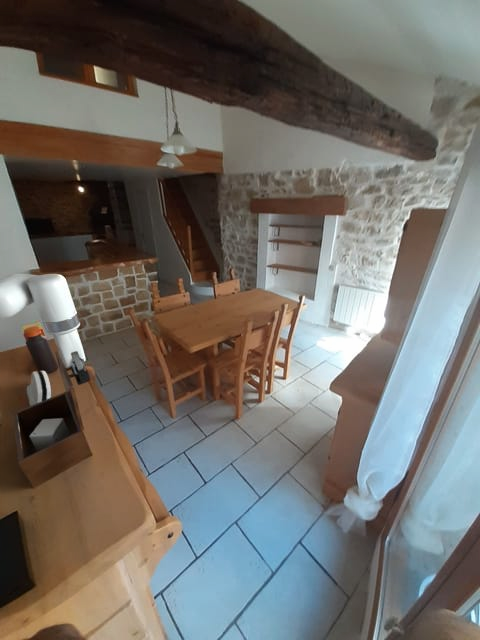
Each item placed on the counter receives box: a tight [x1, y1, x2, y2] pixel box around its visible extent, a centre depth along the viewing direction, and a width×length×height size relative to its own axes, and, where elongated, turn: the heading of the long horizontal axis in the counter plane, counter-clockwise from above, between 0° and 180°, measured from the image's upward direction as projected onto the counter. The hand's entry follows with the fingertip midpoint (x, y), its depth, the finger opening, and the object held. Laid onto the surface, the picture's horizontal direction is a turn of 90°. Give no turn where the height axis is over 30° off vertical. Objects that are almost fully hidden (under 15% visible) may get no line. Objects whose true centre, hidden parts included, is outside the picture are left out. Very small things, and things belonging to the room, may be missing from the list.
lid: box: [54, 350, 85, 431], centre depth 73 cm, size 15×21×5 cm
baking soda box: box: [20, 320, 47, 342], centre depth 112 cm, size 10×6×16 cm
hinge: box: [26, 371, 52, 406], centre depth 91 cm, size 17×5×10 cm, turn 43°
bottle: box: [24, 326, 59, 375], centre depth 102 cm, size 7×7×20 cm
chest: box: [12, 391, 93, 489], centre depth 73 cm, size 14×21×10 cm, turn 42°
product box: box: [29, 418, 70, 452], centre depth 73 cm, size 6×6×7 cm
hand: (81, 376), depth 73 cm, fingers closed on lid, 5 cm apart
